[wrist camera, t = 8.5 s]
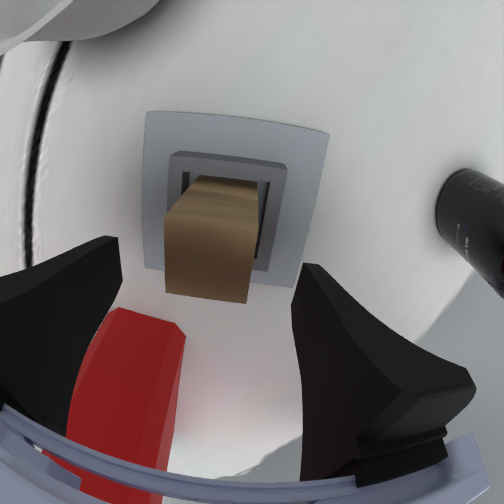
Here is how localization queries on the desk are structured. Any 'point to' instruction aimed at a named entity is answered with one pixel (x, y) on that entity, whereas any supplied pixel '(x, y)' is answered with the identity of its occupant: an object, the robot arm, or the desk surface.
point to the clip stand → (238, 167)
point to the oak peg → (212, 239)
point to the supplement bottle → (475, 223)
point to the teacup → (65, 19)
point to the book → (126, 400)
